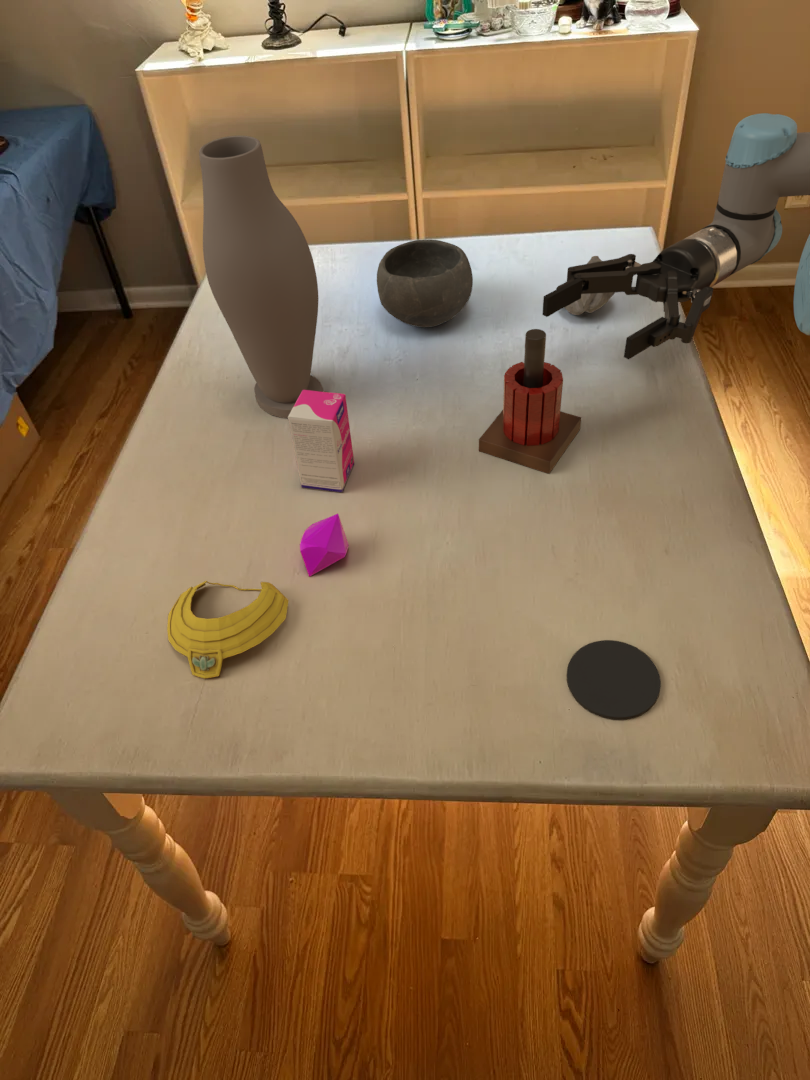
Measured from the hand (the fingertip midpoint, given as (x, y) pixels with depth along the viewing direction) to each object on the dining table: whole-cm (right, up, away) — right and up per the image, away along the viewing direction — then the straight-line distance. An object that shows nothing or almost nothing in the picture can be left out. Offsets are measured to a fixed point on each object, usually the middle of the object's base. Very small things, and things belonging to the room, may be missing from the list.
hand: (584, 327), depth 98 cm
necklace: (-42, -37, -12) cm, 57 cm away
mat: (-2, -40, -20) cm, 45 cm away
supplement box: (-32, -18, +4) cm, 37 cm away
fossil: (+7, +11, +28) cm, 30 cm away
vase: (-39, -6, +16) cm, 43 cm away
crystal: (-32, -29, -6) cm, 43 cm away
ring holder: (-6, -13, +6) cm, 16 cm away
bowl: (-19, +10, +29) cm, 36 cm away
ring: (-6, -12, +5) cm, 14 cm away
